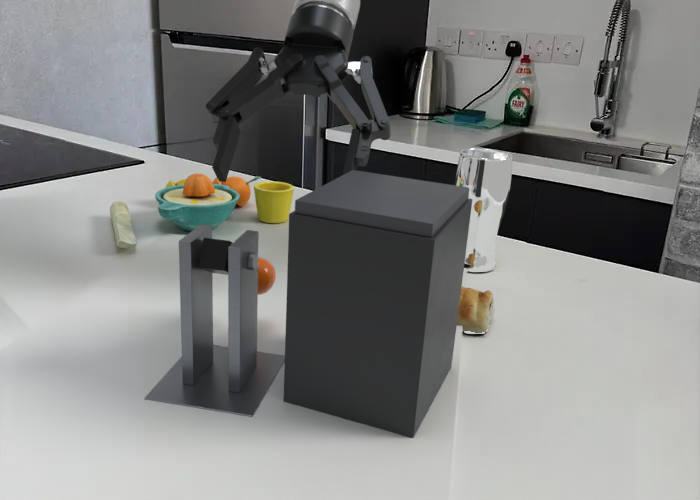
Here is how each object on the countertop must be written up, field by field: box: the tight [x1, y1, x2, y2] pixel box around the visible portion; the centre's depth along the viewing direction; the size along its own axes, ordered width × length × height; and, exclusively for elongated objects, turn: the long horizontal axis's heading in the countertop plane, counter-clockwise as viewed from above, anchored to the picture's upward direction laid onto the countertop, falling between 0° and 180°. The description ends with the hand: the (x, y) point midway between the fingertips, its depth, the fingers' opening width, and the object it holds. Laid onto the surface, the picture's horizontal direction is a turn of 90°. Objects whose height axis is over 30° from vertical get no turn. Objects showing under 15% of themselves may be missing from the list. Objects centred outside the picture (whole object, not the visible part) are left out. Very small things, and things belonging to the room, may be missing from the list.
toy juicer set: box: [109, 173, 295, 249], centre depth 99 cm, size 29×18×8 cm, turn 132°
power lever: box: [199, 238, 277, 296], centre depth 60 cm, size 14×4×4 cm, turn 169°
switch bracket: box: [144, 225, 285, 418], centre depth 56 cm, size 10×9×14 cm
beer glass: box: [454, 147, 514, 270], centre depth 88 cm, size 7×7×15 cm
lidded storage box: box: [283, 169, 472, 439], centre depth 56 cm, size 12×12×18 cm
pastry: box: [457, 285, 495, 333], centre depth 74 cm, size 9×7×4 cm
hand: (281, 182), depth 70 cm, fingers open, 13 cm apart
